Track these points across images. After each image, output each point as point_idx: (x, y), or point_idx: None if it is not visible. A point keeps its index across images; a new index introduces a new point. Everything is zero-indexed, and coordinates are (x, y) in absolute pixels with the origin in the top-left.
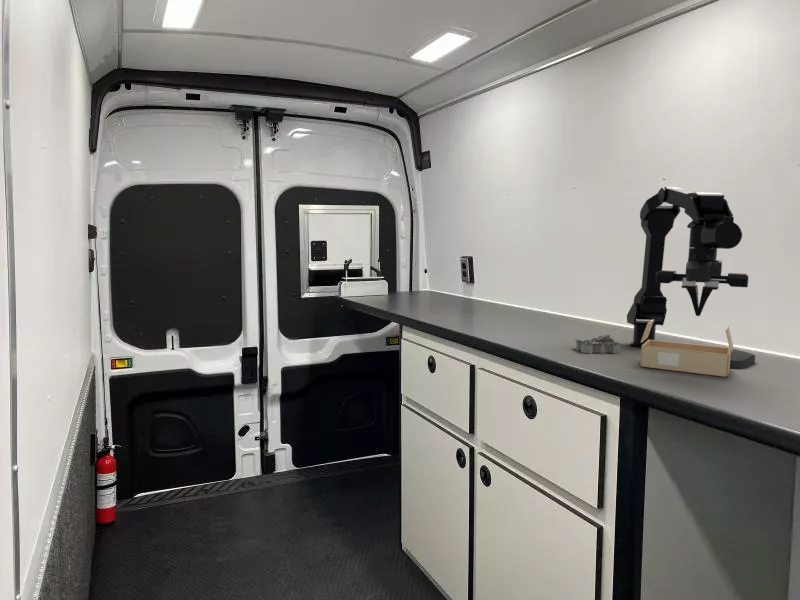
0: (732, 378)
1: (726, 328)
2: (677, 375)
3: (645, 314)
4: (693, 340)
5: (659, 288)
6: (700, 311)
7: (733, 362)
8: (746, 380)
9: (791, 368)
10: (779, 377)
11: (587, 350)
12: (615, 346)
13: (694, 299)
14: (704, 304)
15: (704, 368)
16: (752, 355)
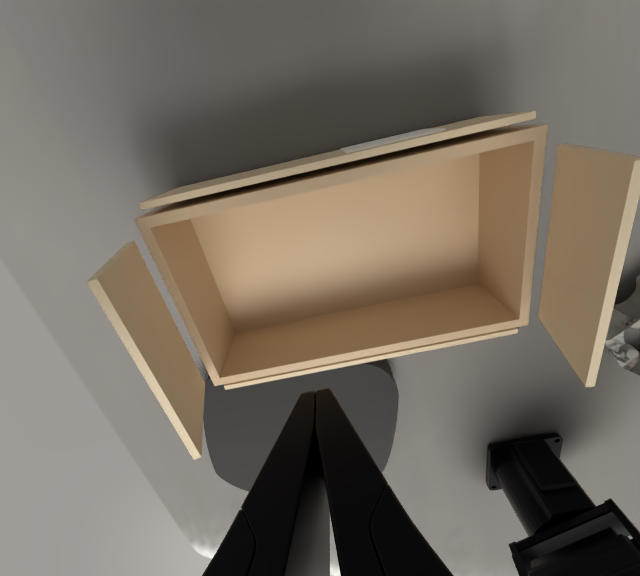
0: (158, 194)
1: (140, 358)
2: (317, 65)
3: (607, 552)
4: None
5: None
6: (295, 418)
7: None
8: (113, 199)
9: (134, 453)
10: (85, 328)
11: None
12: (618, 319)
13: (365, 518)
14: (254, 490)
15: (243, 173)
16: (210, 454)
